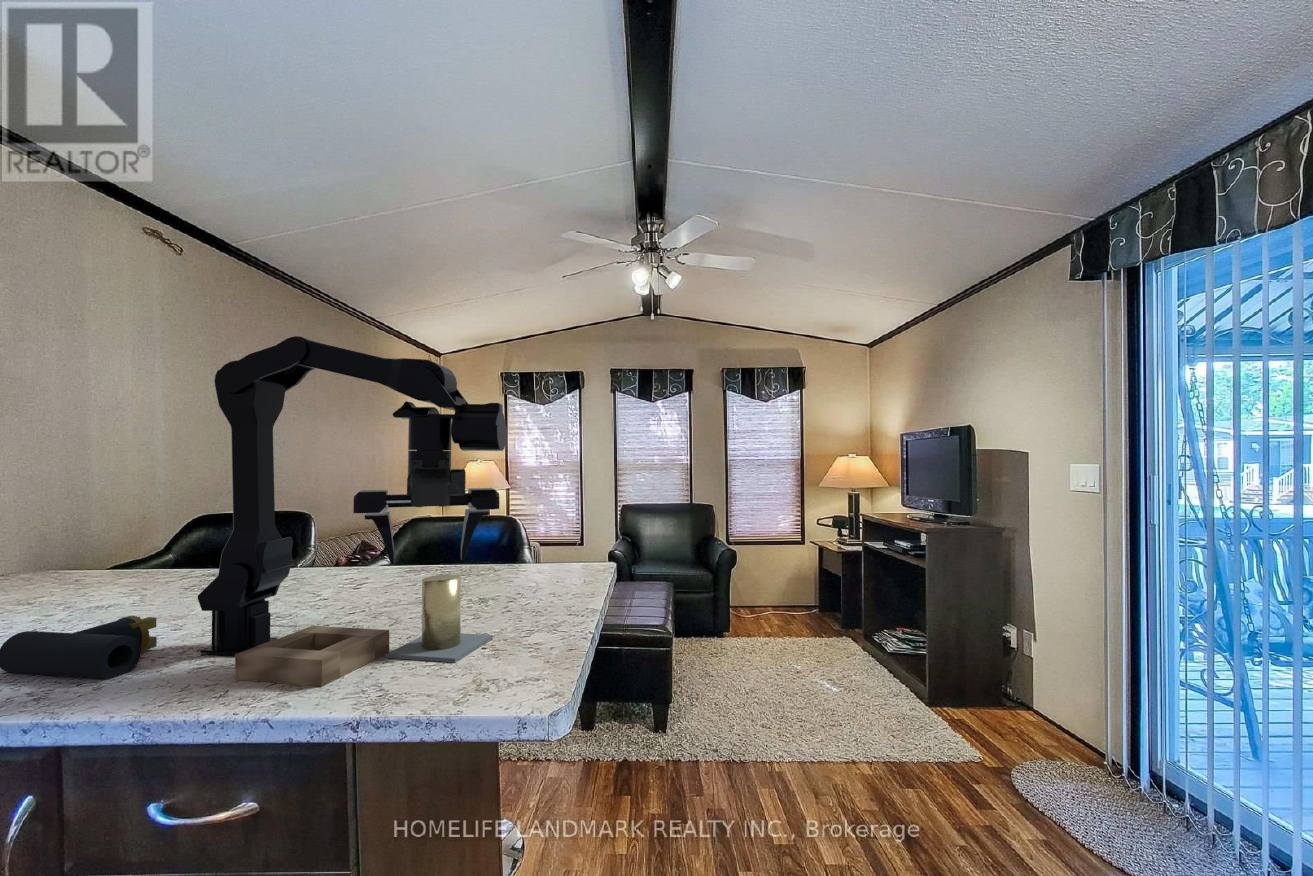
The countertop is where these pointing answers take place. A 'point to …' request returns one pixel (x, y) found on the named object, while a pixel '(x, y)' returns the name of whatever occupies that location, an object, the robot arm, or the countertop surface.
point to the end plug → (441, 612)
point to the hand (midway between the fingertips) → (428, 561)
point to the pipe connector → (80, 650)
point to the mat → (454, 654)
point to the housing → (312, 655)
